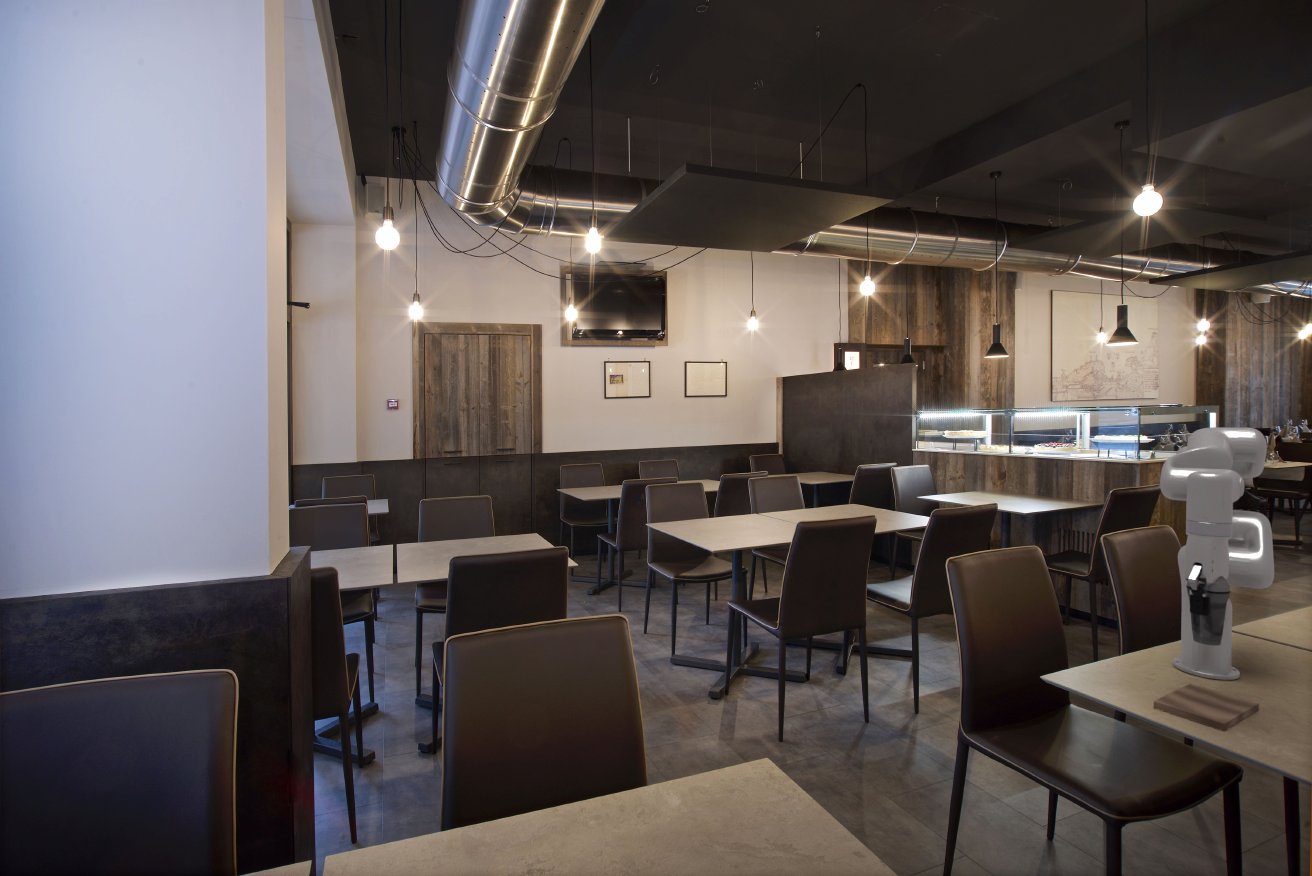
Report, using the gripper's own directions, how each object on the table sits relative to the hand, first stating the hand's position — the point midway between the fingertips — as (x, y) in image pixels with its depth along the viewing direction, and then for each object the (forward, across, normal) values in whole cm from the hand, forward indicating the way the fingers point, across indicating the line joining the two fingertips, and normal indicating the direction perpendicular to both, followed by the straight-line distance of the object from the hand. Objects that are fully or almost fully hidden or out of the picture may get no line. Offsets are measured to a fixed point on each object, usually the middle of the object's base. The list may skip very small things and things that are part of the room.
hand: (1207, 610), depth 136 cm
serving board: (+21, 0, 0) cm, 21 cm away
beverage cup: (+7, 0, 0) cm, 7 cm away
